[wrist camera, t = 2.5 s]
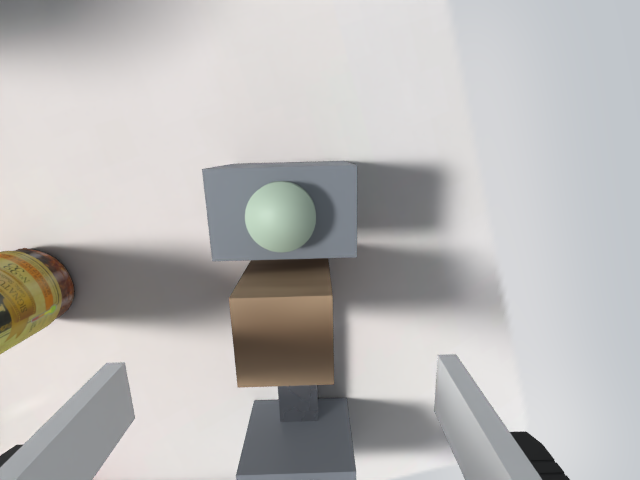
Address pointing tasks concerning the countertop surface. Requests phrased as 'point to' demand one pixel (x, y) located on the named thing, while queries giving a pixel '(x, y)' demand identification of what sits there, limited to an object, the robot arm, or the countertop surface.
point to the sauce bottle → (30, 294)
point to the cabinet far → (298, 444)
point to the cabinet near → (282, 210)
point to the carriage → (283, 323)
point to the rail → (298, 403)
